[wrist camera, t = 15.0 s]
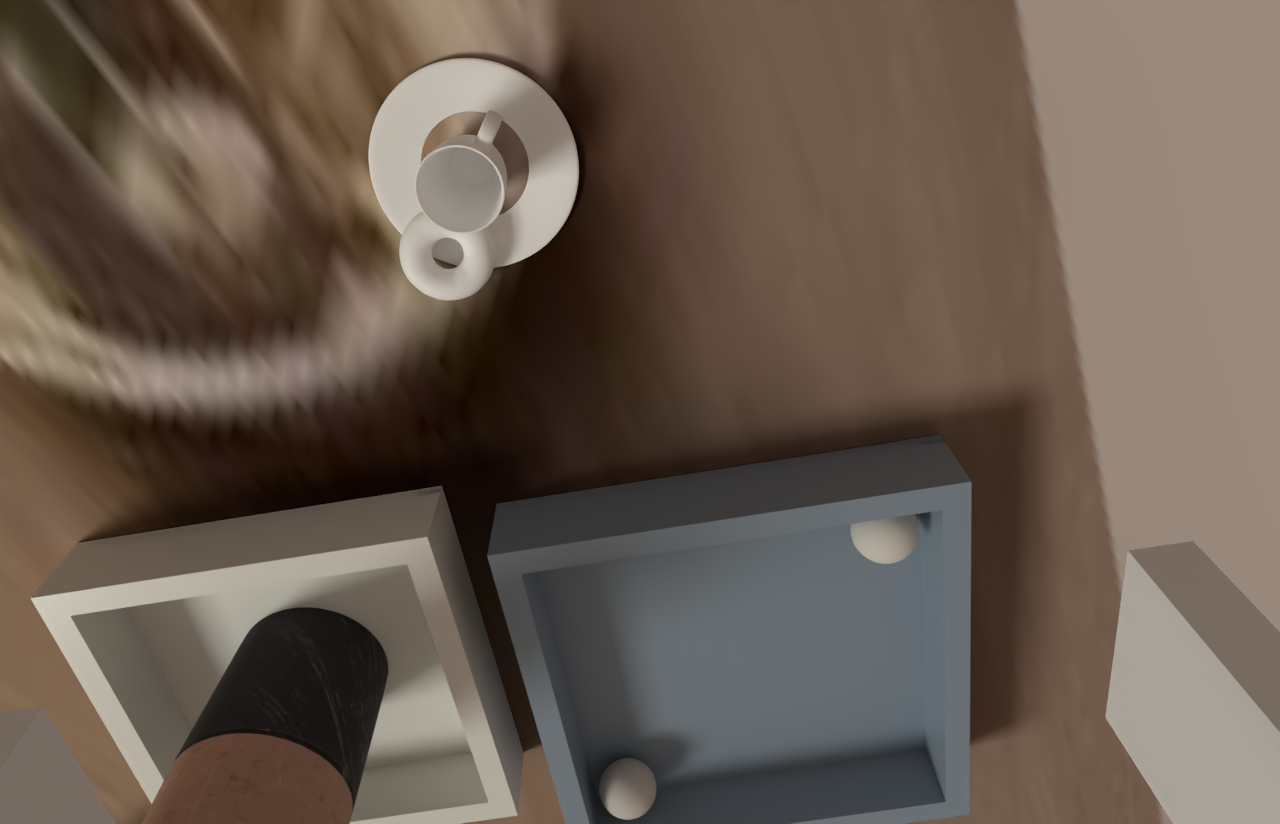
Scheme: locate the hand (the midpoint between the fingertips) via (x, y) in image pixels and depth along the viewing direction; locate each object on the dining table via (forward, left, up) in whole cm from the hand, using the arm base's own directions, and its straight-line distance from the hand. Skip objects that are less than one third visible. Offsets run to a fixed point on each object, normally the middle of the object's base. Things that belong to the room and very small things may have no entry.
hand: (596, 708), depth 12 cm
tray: (-18, -21, -28) cm, 39 cm away
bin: (+3, -24, -28) cm, 37 cm away
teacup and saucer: (-8, +1, -28) cm, 29 cm away
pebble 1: (-4, -31, -27) cm, 42 cm away
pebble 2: (+10, -17, -27) cm, 34 cm away
